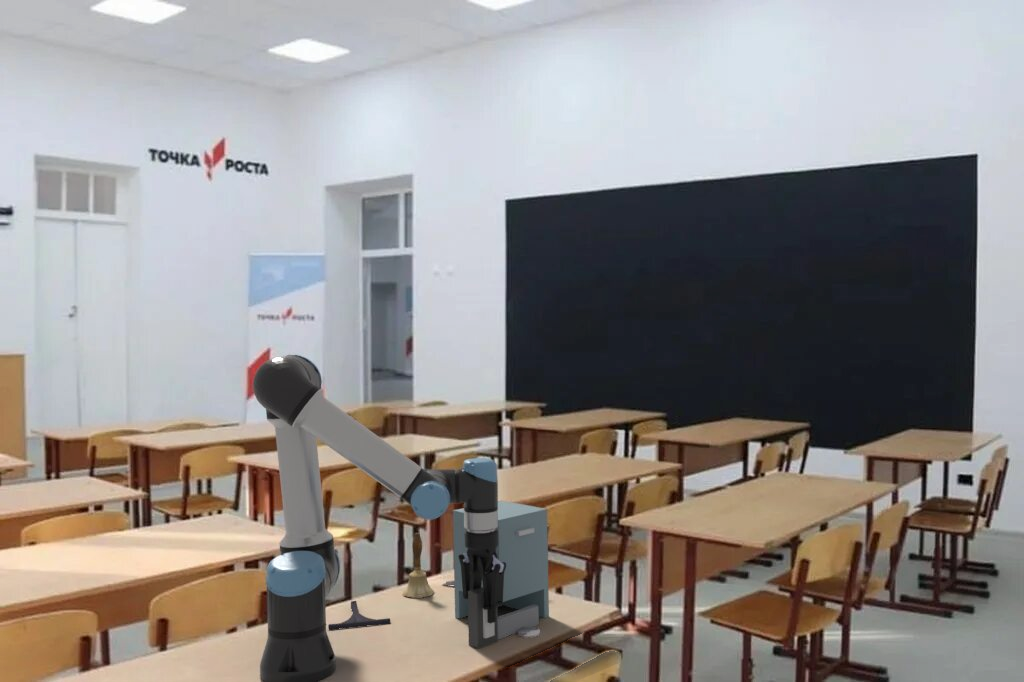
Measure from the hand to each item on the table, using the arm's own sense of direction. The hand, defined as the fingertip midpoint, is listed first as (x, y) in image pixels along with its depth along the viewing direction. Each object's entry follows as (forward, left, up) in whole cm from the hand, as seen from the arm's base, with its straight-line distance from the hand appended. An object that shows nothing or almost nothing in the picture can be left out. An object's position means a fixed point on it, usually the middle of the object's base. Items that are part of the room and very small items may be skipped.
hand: (483, 634), depth 200 cm
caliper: (+27, +32, -3) cm, 42 cm away
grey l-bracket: (+7, 0, -2) cm, 7 cm away
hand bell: (+13, +40, -2) cm, 42 cm away
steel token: (+11, -3, -2) cm, 12 cm away
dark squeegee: (-9, +36, -3) cm, 37 cm away
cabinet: (+15, +10, -2) cm, 18 cm away
